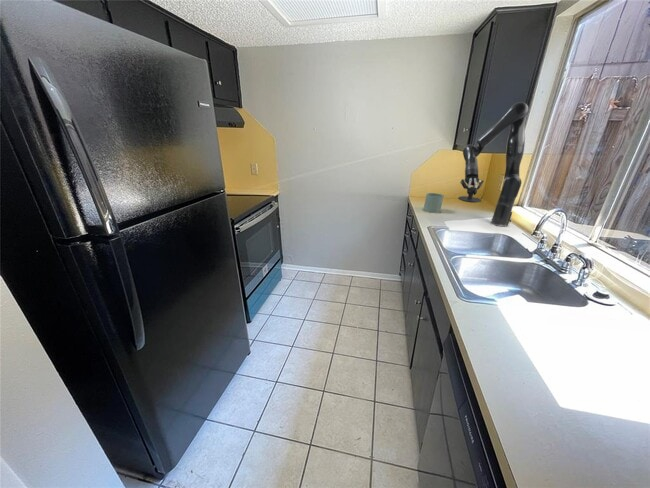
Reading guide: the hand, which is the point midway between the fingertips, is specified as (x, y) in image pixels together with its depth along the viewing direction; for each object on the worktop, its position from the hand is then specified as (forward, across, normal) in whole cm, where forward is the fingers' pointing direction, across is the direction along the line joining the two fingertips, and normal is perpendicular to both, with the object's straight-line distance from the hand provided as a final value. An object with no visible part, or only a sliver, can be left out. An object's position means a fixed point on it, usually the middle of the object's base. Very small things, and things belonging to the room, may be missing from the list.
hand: (472, 193), depth 163 cm
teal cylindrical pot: (-8, -16, +38) cm, 42 cm away
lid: (+2, 0, +4) cm, 5 cm away
